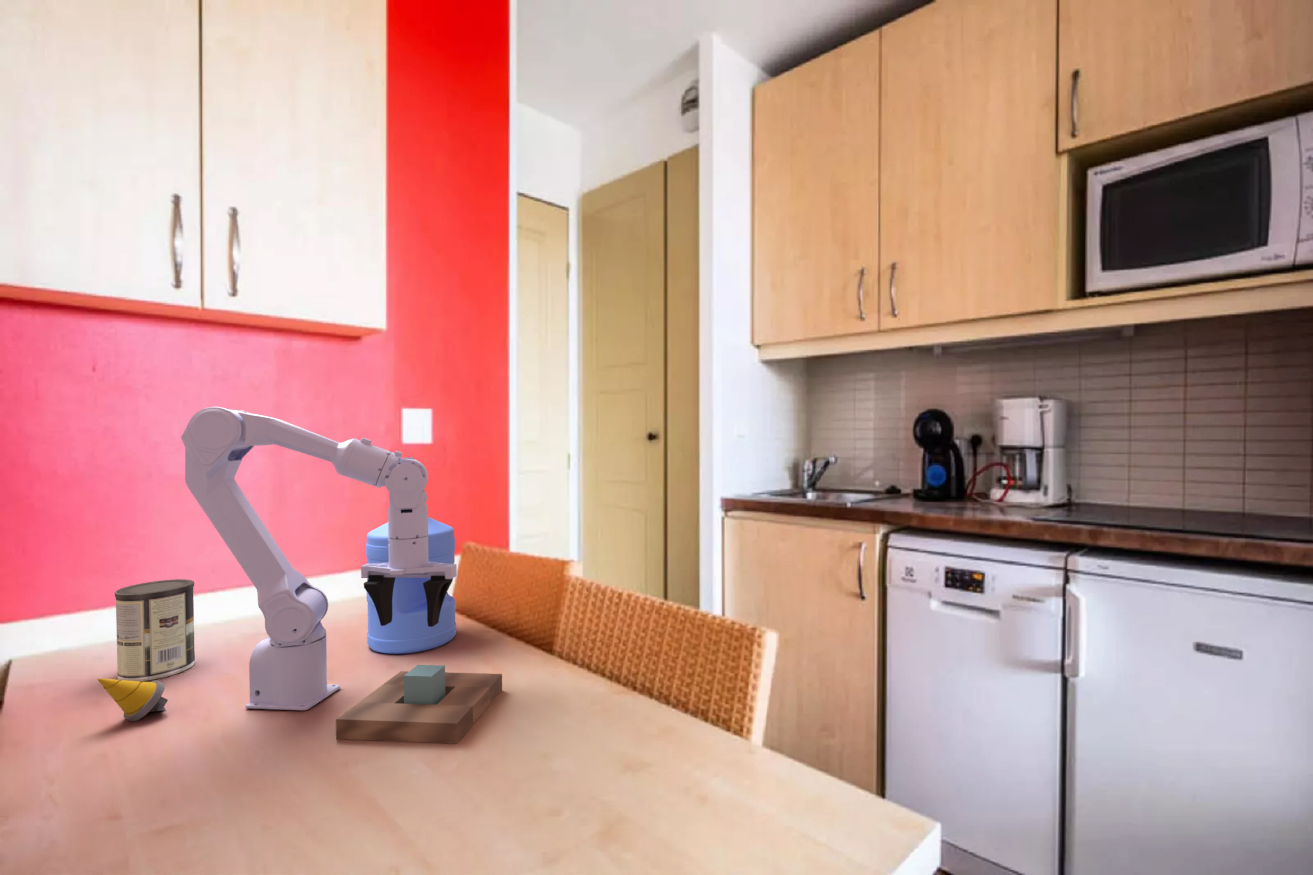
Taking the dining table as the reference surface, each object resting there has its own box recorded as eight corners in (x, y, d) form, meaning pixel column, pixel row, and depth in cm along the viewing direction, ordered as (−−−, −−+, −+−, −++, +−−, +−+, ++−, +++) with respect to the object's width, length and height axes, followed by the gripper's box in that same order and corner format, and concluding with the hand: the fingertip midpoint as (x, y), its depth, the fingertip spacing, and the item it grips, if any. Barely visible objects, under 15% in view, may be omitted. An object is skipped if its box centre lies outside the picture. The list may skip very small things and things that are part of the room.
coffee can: (156, 658, 108) (155, 578, 108) (210, 659, 107) (209, 579, 107) (97, 681, 98) (96, 593, 98) (156, 683, 97) (155, 594, 97)
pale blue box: (404, 719, 83) (403, 675, 83) (418, 706, 87) (417, 664, 87) (432, 720, 83) (431, 676, 83) (445, 707, 87) (444, 665, 87)
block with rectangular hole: (336, 738, 78) (335, 719, 78) (400, 687, 94) (400, 671, 94) (457, 743, 76) (456, 723, 76) (502, 690, 92) (502, 673, 92)
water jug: (347, 651, 110) (345, 496, 110) (406, 625, 125) (404, 488, 125) (420, 659, 106) (418, 497, 106) (472, 631, 121) (470, 489, 121)
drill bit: (170, 722, 84) (99, 690, 79) (142, 735, 85) (70, 704, 80) (189, 686, 89) (123, 653, 83) (162, 699, 90) (95, 668, 84)
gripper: (348, 540, 92) (349, 631, 92) (441, 541, 90) (443, 633, 90) (375, 533, 99) (376, 617, 99) (461, 533, 97) (463, 619, 97)
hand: (409, 624), depth 95 cm, fingers open, 7 cm apart
